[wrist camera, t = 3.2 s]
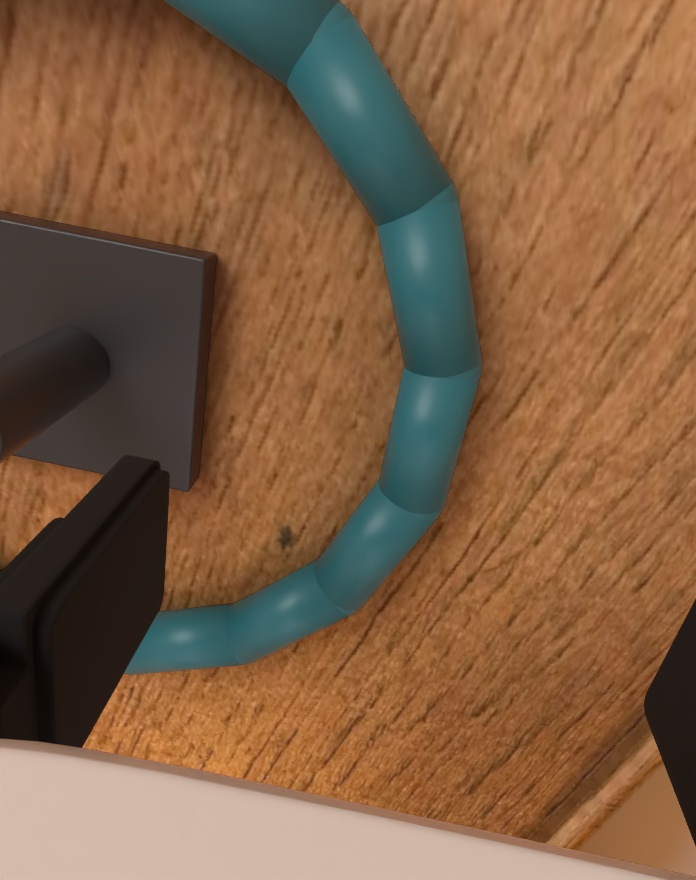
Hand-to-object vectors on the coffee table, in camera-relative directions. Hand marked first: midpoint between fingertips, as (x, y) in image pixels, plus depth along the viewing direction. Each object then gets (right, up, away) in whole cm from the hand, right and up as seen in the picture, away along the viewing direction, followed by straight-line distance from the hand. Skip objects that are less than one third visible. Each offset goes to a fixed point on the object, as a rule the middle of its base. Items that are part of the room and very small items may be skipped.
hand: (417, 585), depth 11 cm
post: (-9, +5, +8) cm, 13 cm away
